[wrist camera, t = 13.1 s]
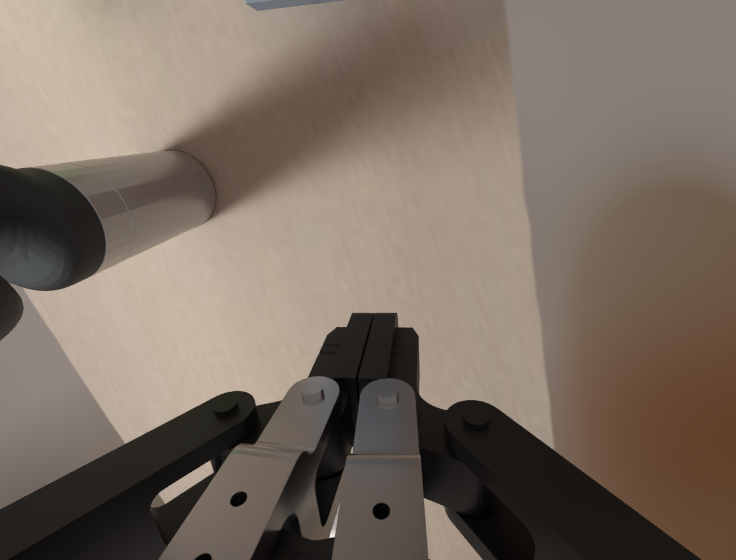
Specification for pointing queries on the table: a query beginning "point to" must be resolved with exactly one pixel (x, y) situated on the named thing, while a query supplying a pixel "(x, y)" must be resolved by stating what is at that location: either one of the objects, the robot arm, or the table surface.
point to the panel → (281, 3)
